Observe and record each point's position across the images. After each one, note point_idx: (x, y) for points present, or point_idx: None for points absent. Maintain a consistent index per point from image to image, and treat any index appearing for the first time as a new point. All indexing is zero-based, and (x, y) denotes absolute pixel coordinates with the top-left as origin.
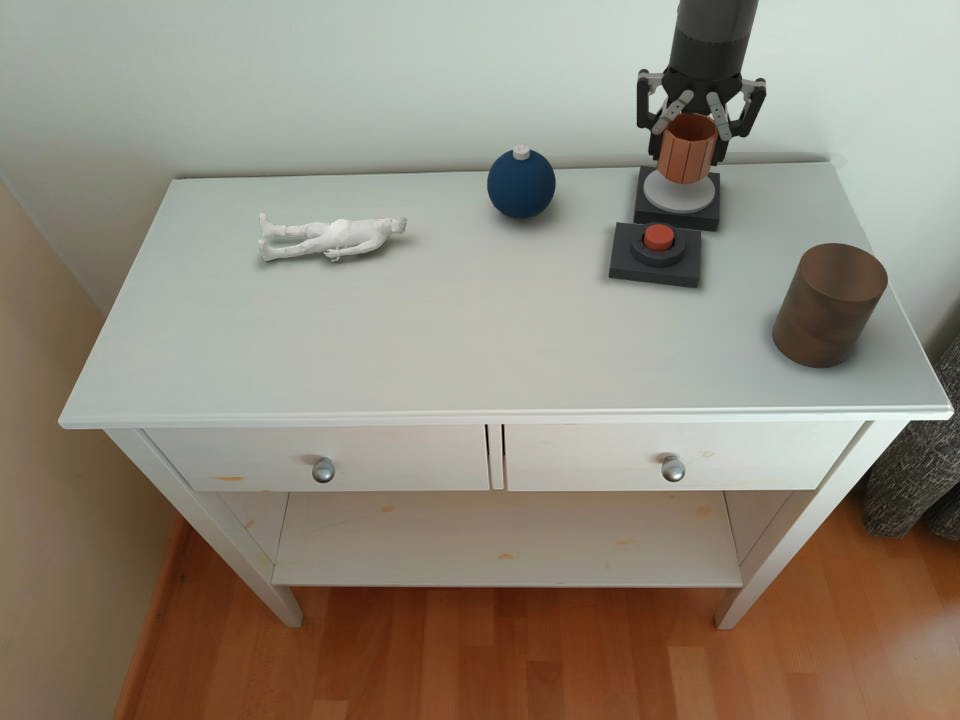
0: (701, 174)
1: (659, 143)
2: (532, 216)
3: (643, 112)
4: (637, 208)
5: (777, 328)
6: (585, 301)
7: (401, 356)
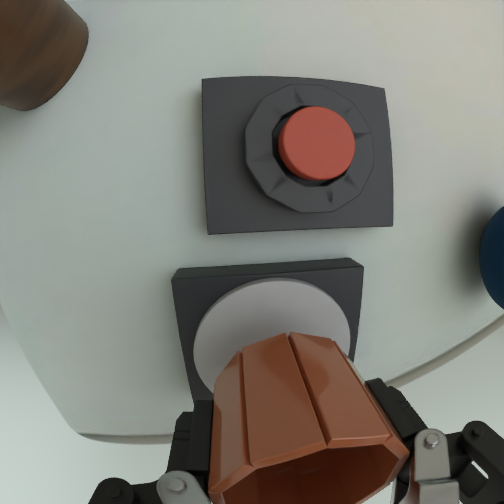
0: (235, 366)
1: (395, 415)
2: (494, 214)
3: (497, 456)
4: (359, 273)
5: (78, 24)
6: (389, 49)
7: (493, 21)
